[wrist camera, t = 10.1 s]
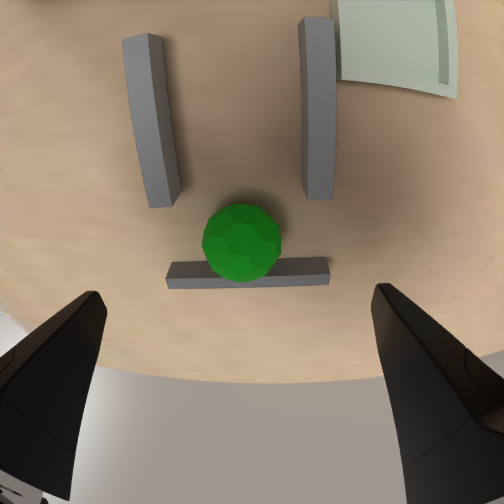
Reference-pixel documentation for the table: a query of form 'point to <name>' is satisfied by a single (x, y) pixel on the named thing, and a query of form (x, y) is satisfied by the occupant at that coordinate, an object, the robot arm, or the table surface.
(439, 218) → the table surface
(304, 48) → the channel
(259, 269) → the polyhedron
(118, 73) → the table surface
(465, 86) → the table surface
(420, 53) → the dish
